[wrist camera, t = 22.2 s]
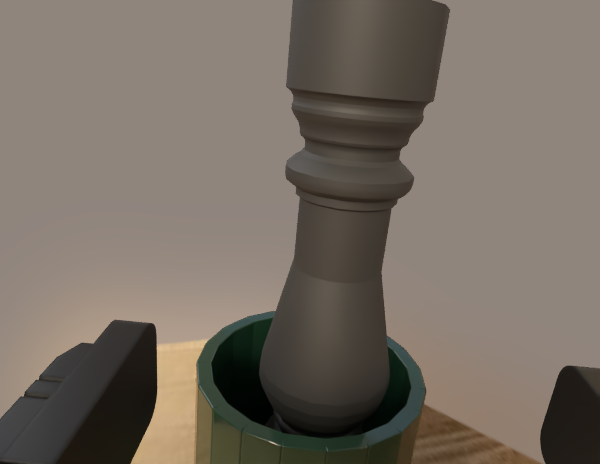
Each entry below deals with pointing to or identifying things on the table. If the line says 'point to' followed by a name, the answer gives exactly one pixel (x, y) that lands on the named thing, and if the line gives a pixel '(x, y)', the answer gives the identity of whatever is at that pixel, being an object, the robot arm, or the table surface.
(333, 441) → the pot
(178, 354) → the table surface
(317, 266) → the candle holder
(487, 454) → the table surface
